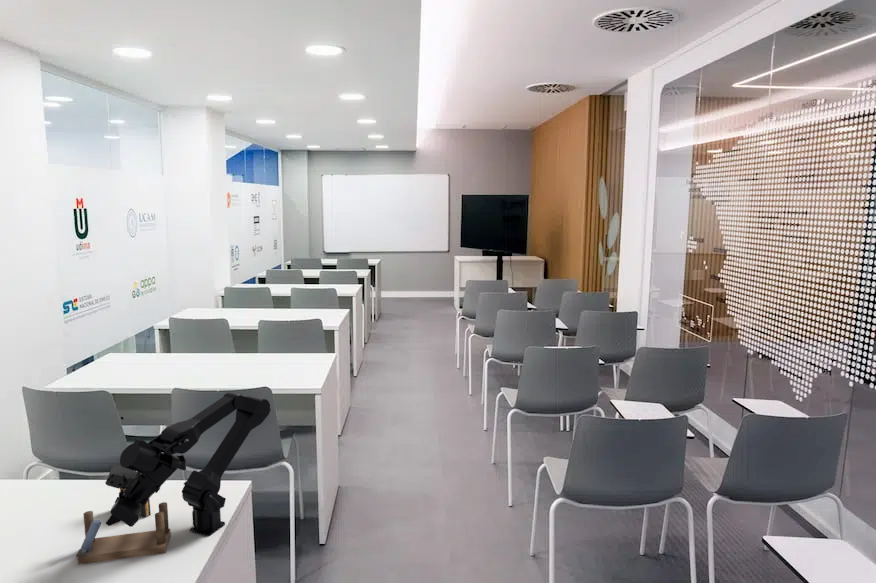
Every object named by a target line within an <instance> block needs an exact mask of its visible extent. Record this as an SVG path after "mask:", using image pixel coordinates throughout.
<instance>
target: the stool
mask: <svg viewBox="0 0 876 583" xmlns="http://www.w3.org/2000/svg"><path fill="white" fill-rule="evenodd" d="M168 510H169V509H168V502H166V501H165V502H164V501H163V502H160V503H158V512H156V513H154V522H155V530H150V531H140V532H139V531H138V532H133V533H126V534H118V535H117V534H116V535H110V536H102V537H95V539H94V541H93V543H92V546H91V548H90V550H89V551H86V552H85V553H84V554H83V553H82V550H81V548H79V549H78V550H77V553H76V554H75V557H76V559H77V565H78V566H80V565H87V564H93V563H94V564H95V563H102V562H106V561H107V562H108V561H115V560H116V561H117V560H124V559H129V558H130V559H131V558H138V557H144V556H145V557H146V556H151V555H159V554H165V553H166V552H167V549H168V546H169V543H170V540H171V535H172V533H171V528H170V525H169V513H168V512H169V511H168ZM93 520H94V511H93V510H89V511H85V512H84V513H83V524H84V534H85V535H84V536H85V537H86V535H87V533H88V530H89V528H90V526H91V524H92V521H93Z"/></svg>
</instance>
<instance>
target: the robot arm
mask: <svg viewBox="0 0 876 583" xmlns="http://www.w3.org/2000/svg"><path fill="white" fill-rule="evenodd" d="M270 403H271V402H270V401H269V400H268V399H266V398H261V397H258V396H254V395H247V396H243V395H242V394H240V393H235V392H226V393H224V394H223V396H222V397H221V398H219V399H218V400H216V401H215V402H212V404H210V405H209V406H208V407H206V408H204V409H203V410H201V411H199V412H198V413H197V414H195V415H194V416H193V417H191V418H189V419H187V420H181V421H177V422H176V423H173V424H171V425H170V426H167V427H166V428H164V429H163V430H162V431H161V432H160V434H158V435H157V436H155V437H154V438H152V439H151V440H150V441H148V442H146V440H142V439H139V438H136V439H135V440H134V441H133V443H130V444H129V445H128V446H126V448H124V449H123V450H122V452H121V454H120V457H119V464H120V465H117V464H116V465H113V467H112V468H111V470H110V472H109V474H108V476H107V478H106V481H105V482H104V483H105V485H106V486H108V487H112V488H115V489H119V492H120V493H119V492H118V496H117V497H116V499H115V501H114V504H113V505H112V506H111V508H110V511H109V512H110V515H109V517H108V518H107V521H106V522H105V524H106V526H108V527H110V526H112V525H115V524H118V523H120V522H122V523H124V524H125V525H127V526H128V527H130V528H131V527H134V526H135V525H136V523H138V521H139V520H140V515H141V508H140V507H141V504H142V505H143V506H144V505H145V504H146V503H147V502H148V499H149V500H150V498H151V497H152V496H153V495H154V494H155V493H158V492H159V491H160V489H161V487H162V485H163V484H165V482H166V481H168V479H169V478H171V476H172V475H173V474H174V473H175V472H176V471H177V470H182V471H186V470H187V466H186V462H187V460H186V458H185V456H184V454H186V453H188V452H189V451H190V450H191V449H192V448H193V447H194V446H195V445H196V444H197V443H198V442H199V440H200V438H201V436H202V435H203V434H204V433H205V432H207V431H208V430H209V429H210V428H212V427H214V426H215V425H217V424H218V423H219V422H221V421H222V420H223V419H225V418H226V417H227V416H230V414H232V413H233V412H235V421H234V423H233V424H232V426H231V427H230V429H229V431H228V432H227V434H226V435H225V436H224V438H223V439H222V440H221V442H220V443H219V446H218V447H217V449H216V450H215V451H214V453H213V454H212V456H211V458H210V459H209V461H208V462H207V464H206V465H205V467H204V468H203V469H201V470H199V471H196V470H194V469H193V471H192V472H191V473H190V475H189V477H188V478H187V480H185V482H183V485H184V486H183V488H182V490H181V493H182V499H183V501H184V502H186V503H187V505H188V506H189V507H192V511H191V514H192V516H191V517H192V526H193V527H191V528H190V529H189V532H190V533H193V534H199V535H203V536H207V537H209V536H211V535H213V534H214V533H215V532H217V531H218V530H220V529H221V528H222V527H223V526H225V525H226V521H222V518H221V509H222V508H224V507H225V503H226V497H224V496H223V495H221V494H219V492H220V490H221V484H222V482H221V481H222V480H221V479H222V477H223V475H224V473H225V471H226V470H227V469H228V467H229V465H230V464H231V462H232V461H233V459H234V458H235V456H236V455H237V453H238V452H239V450H240V449H241V446H242V445H243V444H244V442H245V441H246V439H247V438H248V435H249V434H250V433H251V431H252V430H254V429H255V428H257V427H258V426H260V425H262V424H263V422H264V421H265V420H266V419H267V417H268V416H269V415H270V413H271V410H272V409H271V404H270ZM176 454H179V455H176ZM180 454H181V455H180ZM120 488H121V489H122V490H121V491H120ZM123 489H125V490H123Z"/></svg>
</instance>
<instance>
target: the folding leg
mask: <svg viewBox="0 0 876 583" xmlns="http://www.w3.org/2000/svg"><path fill="white" fill-rule="evenodd" d="M101 525H102V521H101V520H100V519H99V520H98V519H93V521H92V524H91V526H90V528H89V530H88V533H87V535H86V537H85V538H84V540H83V542H82V544H81V547H80V549H81V550H82V553H83V554H84V553H85V552H86V551H89V550H90V548H91V546H92V543H93V541H94V539H95V538H97V537H96V536H97V535H98V532H99V530H100V527H101Z"/></svg>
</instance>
